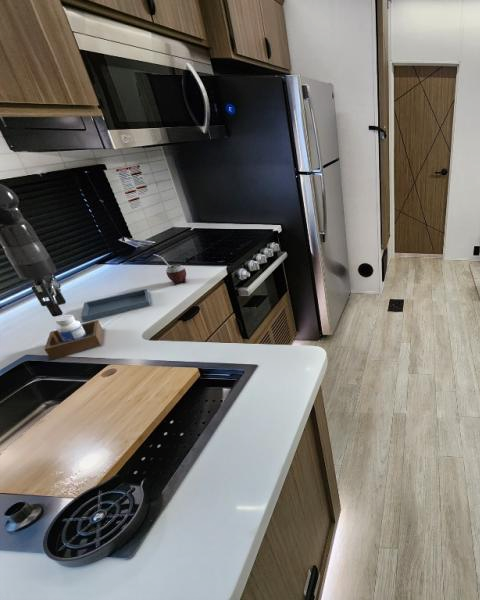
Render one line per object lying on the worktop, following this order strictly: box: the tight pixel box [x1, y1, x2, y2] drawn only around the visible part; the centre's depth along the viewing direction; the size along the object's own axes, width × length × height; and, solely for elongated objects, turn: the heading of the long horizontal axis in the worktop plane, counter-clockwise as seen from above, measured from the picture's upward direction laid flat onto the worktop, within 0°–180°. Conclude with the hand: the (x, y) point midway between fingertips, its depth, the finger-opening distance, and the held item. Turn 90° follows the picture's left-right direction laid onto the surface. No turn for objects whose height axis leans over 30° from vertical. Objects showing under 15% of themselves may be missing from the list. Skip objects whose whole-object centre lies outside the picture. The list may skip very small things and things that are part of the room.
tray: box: [80, 288, 151, 323], centre depth 125 cm, size 20×14×3 cm
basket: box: [44, 319, 104, 361], centre depth 103 cm, size 12×12×4 cm
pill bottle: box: [54, 314, 89, 343], centre depth 102 cm, size 6×5×10 cm
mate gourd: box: [152, 253, 187, 286], centre depth 141 cm, size 8×8×15 cm
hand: (60, 309), depth 98 cm, fingers open, 8 cm apart
